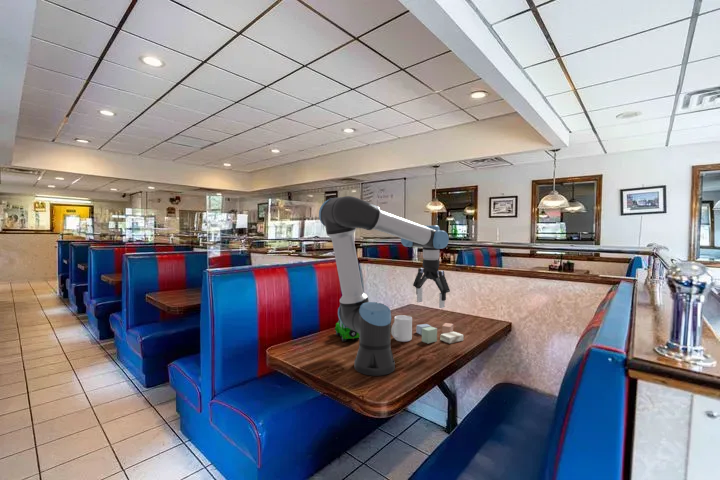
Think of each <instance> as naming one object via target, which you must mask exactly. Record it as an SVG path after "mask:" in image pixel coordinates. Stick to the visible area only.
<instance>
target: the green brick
mask: <svg viewBox="0 0 720 480" xmlns="http://www.w3.org/2000/svg"><path fill="white" fill-rule="evenodd" d="M421 342H423V343H425V344H431V343H436V342H438V328H437V327H434V326H431V327H426V328H422V335H421Z"/></svg>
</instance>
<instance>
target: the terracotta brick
mask: <svg viewBox="0 0 720 480" xmlns="http://www.w3.org/2000/svg"><path fill="white" fill-rule="evenodd" d="M441 327H442V328H441V332H442V333H441V334H444V333H449V332H454V323H449V322H445V323H443V324H442V325H441Z"/></svg>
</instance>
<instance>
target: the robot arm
mask: <svg viewBox="0 0 720 480" xmlns="http://www.w3.org/2000/svg"><path fill="white" fill-rule="evenodd" d="M318 218H319V222H320V223H321V225H323V226H324V227H325V232H326V236H328V237H329V238H330V239H331V243H332V249H333V254H334V259H335V263H336V269H337V274H338V280H339V285H340V291H341V294H342V296H341V297H340V298H339V307H338V308H337V317H338V321H339V320H340V321H341V323H342V324H343V325H344V326H346V327H347V328H349V329H351V330H353V331H355V332H357V333H359V340H358V341H359V344H358V349H357V352H356V356H355V359H354V363H353V364H354V369H355V371H356V372H358V373H360V374H363V375H365V376H374V377H375V376H378V377H379V376H386V375H389V374H391V373H393V372H394V371H395V370H396V368H395V367H396V366H395V365H396V362H395V359H394V355H393V352H392V347H391V340H392V339H391V336H392V334H391V328H392V312H391V308H390V307H389V306H387V305H386V304H384V303H381V302H379V303H378V302H375V301H369V296H368V294H367V293H366V292H364V289H363V283H362V278H361V272H360V266H359V260H358V256H357V255H358V254H357V249H356V246H355V239H354V233H355V232H356V230H357V229H363V230H367V231H372V230H376V231H378V232H381V233H385V234H388V235H391V236H394V237H398V238H400V243H401V244H402V246H404V247H407V248H408V247H409V248H412V247H413V248H422V258H423V259H422V267H419V268H417V274H416V276H415V279H414V281H413V284H412V286H413V287H414V288H415V289H416V302H417V303H422V302H423V285H424V284H425V282H426V281H427V280H432V281H433V282H434V283H435V284H436V286H437V289H438V290H439V291H440V293H439V294H438V295H439V301H438V303H439V306H438V307H439V309H442V308H443V309H444V308H445V307H446V306H445V304H446V303H445V302H446V299H447V293H451V289H450V287H449V284H448V281H447V278H446V276H445V270H439V268H440V260H439V259H440V249H442V250H443V249H445V248H446V247H447V246H448V245H449V241H450V237H449V235H448V233H447V231H445V230H441V229H440V226H439V225H422V224H419V223H418V222H414V221H412V220H409V219H406V218H404V217H400V216H397V215H395V214H393V213H389V212H387V211H386V210H385V211H384V210H382V209H381V208H380V207H379V206H378V205H376V204H374V203H371V202H369V201H366V200H363V199H362V198H359V197H355V196H353V195H352V196H350V195H346V196H341V197H332V198H328V199H327V200H325V201H324V202H322V204H321V206H320V207H319V210H318Z"/></svg>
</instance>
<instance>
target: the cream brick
mask: <svg viewBox="0 0 720 480" xmlns="http://www.w3.org/2000/svg"><path fill="white" fill-rule="evenodd" d="M464 337H465V335H464V334H462V333H460V332H457V331H453V332H449V333H444V334H443V333H441V334H440V337H439V338H440V339H439V340H440V341H441V342H442V341H443V342H444V343H448V344H454V343H459V342H463V341H464Z"/></svg>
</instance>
